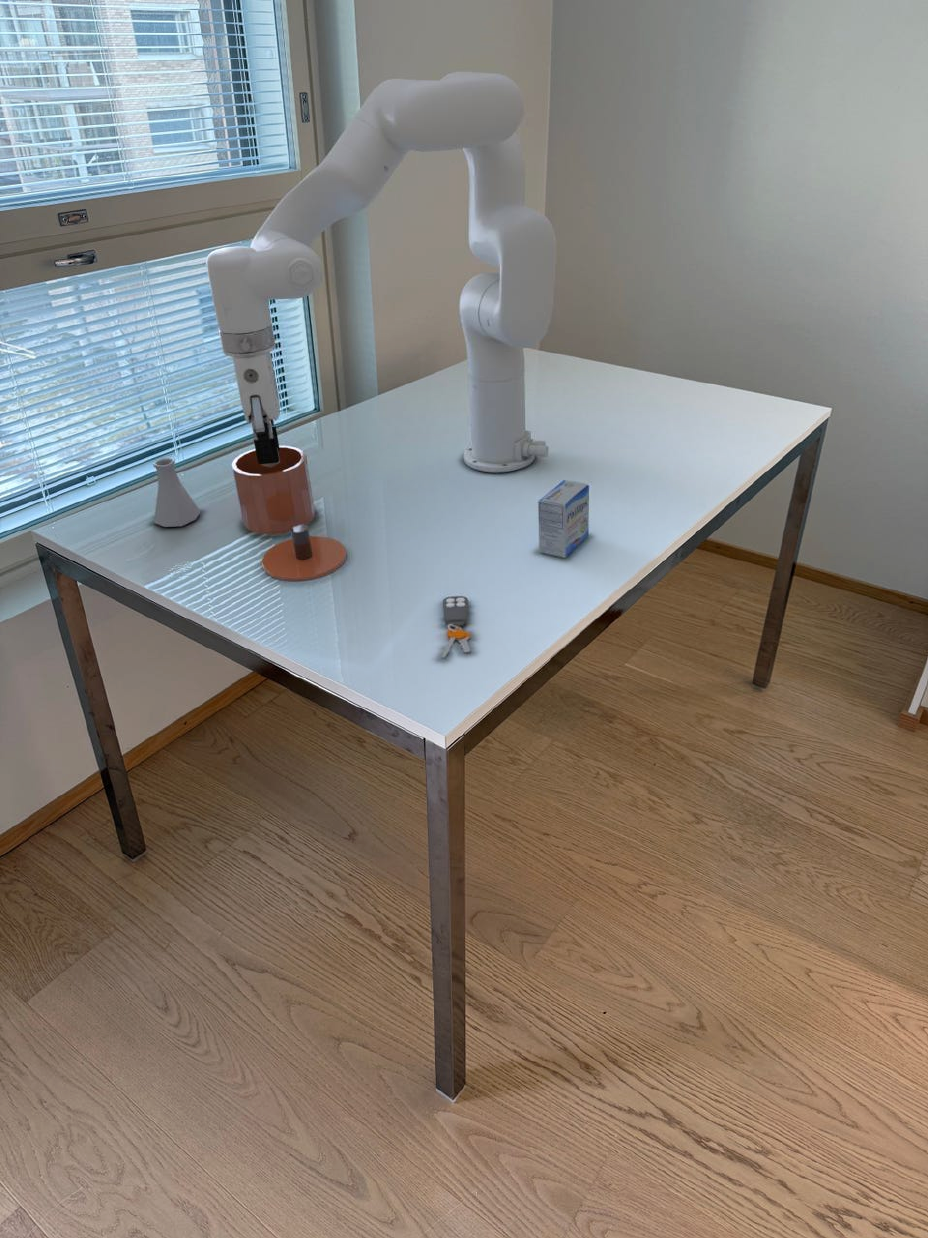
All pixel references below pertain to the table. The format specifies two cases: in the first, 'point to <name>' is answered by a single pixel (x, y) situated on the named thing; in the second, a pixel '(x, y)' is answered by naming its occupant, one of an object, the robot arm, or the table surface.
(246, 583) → the table surface
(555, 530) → the medicine box
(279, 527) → the canister
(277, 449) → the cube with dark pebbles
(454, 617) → the key chain
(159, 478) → the flask
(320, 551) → the lid
